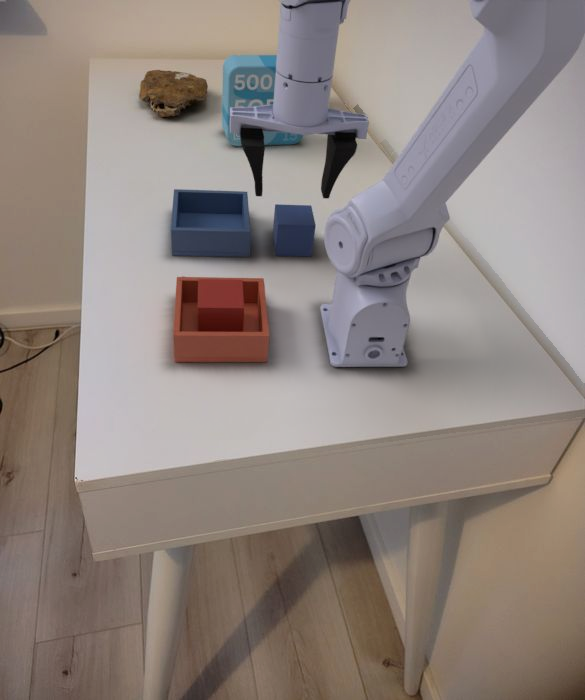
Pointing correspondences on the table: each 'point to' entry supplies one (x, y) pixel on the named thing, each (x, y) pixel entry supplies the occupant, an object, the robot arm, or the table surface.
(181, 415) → the table surface
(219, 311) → the red block
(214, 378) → the table surface
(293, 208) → the blue block
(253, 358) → the terracotta bin
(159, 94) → the decorative rock
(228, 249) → the blue bin
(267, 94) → the data package
